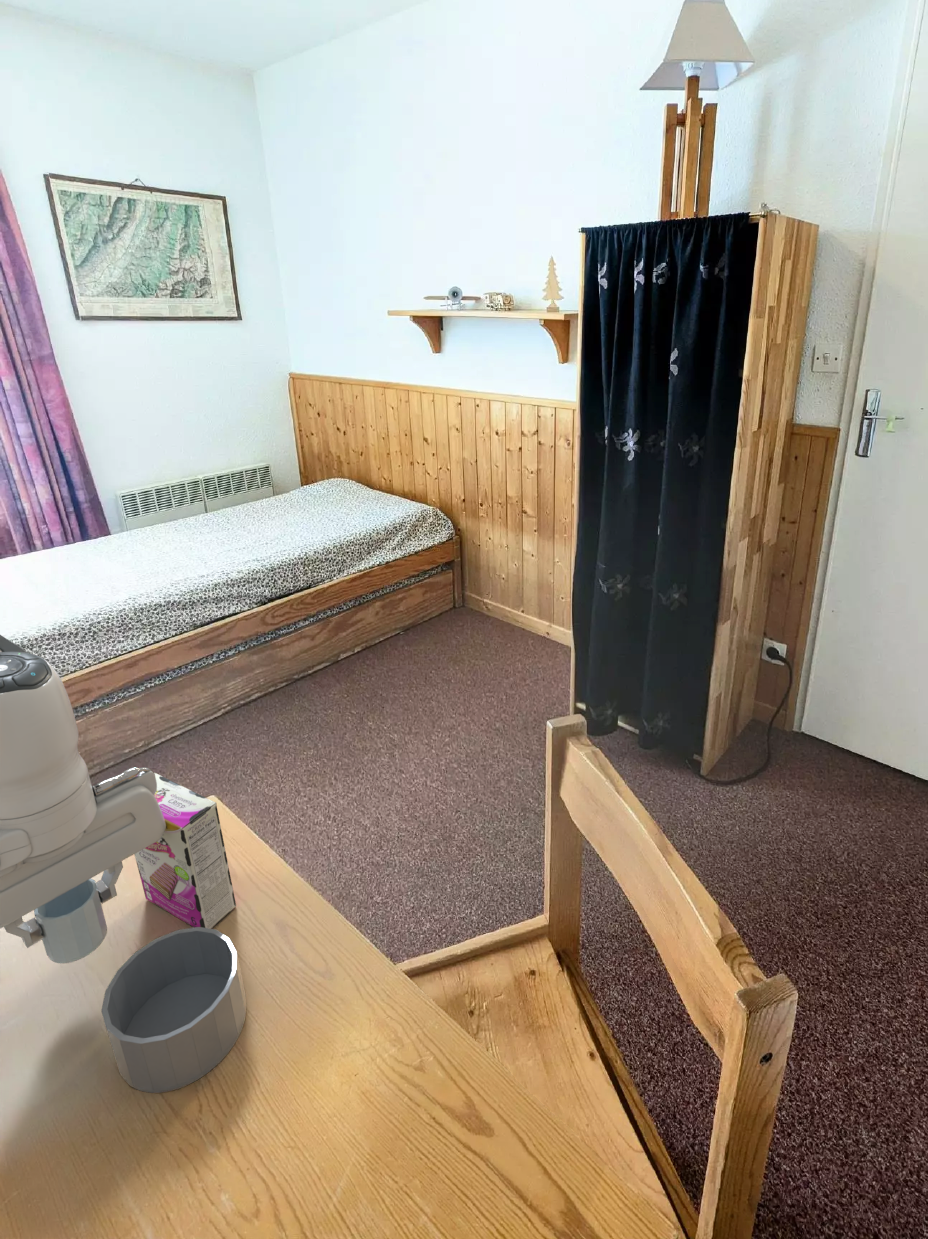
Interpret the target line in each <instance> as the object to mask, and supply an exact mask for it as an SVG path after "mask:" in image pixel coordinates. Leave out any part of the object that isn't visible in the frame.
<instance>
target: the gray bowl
mask: <svg viewBox="0 0 928 1239" xmlns="http://www.w3.org/2000/svg"><path fill="white" fill-rule="evenodd" d="M243 980H244V979H243V976H242V970H241V964H240V959H239V954H238V951H237V949H236V947H235V946H234V943H233V941H232V939H231V938H230V937H229V936H227V935H226V934H224V933H222V932H221V931H220V930H218V929H215V928H212V929H209V928H203V927H189V928H182V929H177V930H174V931H171V932H168V933H167V934H164V935H161V936H159V937H157V938H155V939H153V940H151V941H150V942H149V943H147V944H146V945H144V946H143V947H141V948H139V949H138V950H137V951H135V952H134V953H133V954H132V955H131V956H130V957H129V958H128V959H127V960H126V961H125V962H124V963H123V964H122V965H121V966H120V967H119V968H118V969H117V971H116V972H115V974H114V975H113V977H112V979H111V981H110V982H109V984H108V986H107V987H106V989H105V992H104V996H103V1001H102V1006H101V1010H100V1011H101V1015H102V1018H103V1023H104V1027H105V1029H106V1033H107V1037H108V1039H109V1043H110V1046H111V1049H112V1053H113V1056H114V1059H115V1064H116V1066H117V1070H118V1072H119V1075H120V1076H121V1078H122V1079H123V1080H124V1082H125V1083H126V1084H128V1086H130V1087H132V1088H133V1089H135V1090H137V1091H140V1092H144V1093H151V1094H159V1093H160V1094H162V1093H166V1092H173V1091H175V1090H179V1089H181V1088H184V1087H186V1086H189V1085H191V1084H193V1083H194V1082H196V1081H198V1080H199V1079H201V1078H203V1077H204V1076H206V1075H207V1074H208V1073H210V1072H211V1071H212V1070H213V1069H214V1068H216V1067H217V1066H218V1065H219V1064H220V1063H221V1062H222V1061H223V1060H224V1058H225V1057H226V1056H227V1055H228V1054H229V1053H230V1051H231V1050H232V1049H233V1047H234V1046H235V1045H236V1042H237V1041H238V1039H239V1038H240V1036H241V1032H242V1031H243V1027H244V1024H245V1020H246V1016H247V999H246V998H247V997H246V995H247V994H246V991H245V990H246V989H245V986H244V981H243Z"/></svg>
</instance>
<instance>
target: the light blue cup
mask: <svg viewBox="0 0 928 1239" xmlns="http://www.w3.org/2000/svg"><path fill="white" fill-rule="evenodd" d="M96 882H97V881H96V880H94V879H93V878H90V879H89V880H87V881H85V882H83V883H81V884H80V885H78V886H76V887H74V888H73V889H71V890H69V891H67V892H65V893H64V894H62V895H60V896H58V897H56V898H55V899H53V900H51V901H49V902H47V903H46V904H44V905H42V906H40V907H38V908H37V909H35V910H33V914H34V917H35V919H36V921H37V923H38V924H39V925H40V927H41V930H42V934H43V936H44V939H42V940H41V941H42V945H43V947H44V950H45V954H46V956H47V958H48V959H49V960H50V961H51V962H53V963H54V964H61V965H63V964H70V963H74V962H77V961H80V960H82V959H84V958H86V957H88V956H89V955H90V954H92V953H93V952H94V951H95V950H97V949H98V948H99V947H100V946H101V945H102V943H103V942H104V940H105V939H106V936H107V934H108V925H107V920H106V917H105V913H104V908H103V904H102V903H101V901H100V897H99V893H98V889H97V885H96Z"/></svg>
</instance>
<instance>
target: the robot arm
mask: <svg viewBox="0 0 928 1239" xmlns="http://www.w3.org/2000/svg"><path fill="white" fill-rule="evenodd" d="M74 712H75V711H74V709H73V707H72V703H71V700H70V697H69V694H68V691H67V689H66V687H65V684H64V682H63V680H62V678H61V677H60V675H59V673H58V672H57V671H56V669H55V668H54V667H53V665H51V663H50V662H49V661H48V660H46V659H45V658H43V657H41V656H39V655H37V654H34V653H30V652H28V651H27V650H25V649H24V648H22V647H21V646H19V645H18V644H16V643H15V642H13V641H11V640H9V639H8V638H6V637H5V636H3V635H1V634H0V930H2V929H3V928H4V930H5V932H6V933H7V934H10V935H14V936H16V937H19V938H21V940H22V943H23V944H24V945H25V948H26V949H29V948H30V947H32V946H34V945H36V944H37V943H38V942H40V941H42V939H44V936H43V934H42V930H41V927H40V925H39V924H38V923H37V921H36V918H35V916H34V917H32V918H31V919H29V920H27V921H24V919H23V917H24V916H27V915H28V914H30V913H32V912H34V910H35V909H37V908H38V907H40V906H42V905H44V904H46V903H47V902H49V901H51V900H53V899H55V898H56V897H58V896H60V895H62V894H64V893H65V892H67V891H69V890H71V889H73V888H74V887H76V886H78V885H80V884H81V883H83V882H85V881H87V880H89V879H90V878H91V879H93V878H94V877H96V876H98V875H100V874H101V873H102V876H101V879H99V880H98V881H95V882H96V885H97V889H98V893H99V897H100V901H101V905H103V904H104V903H106V902H108V901H110V900H112V899H114V898H115V897H117V896H118V893H117V889H116V884H117V882H118V879H119V877H120V875H121V873H122V871H123V868H124V865H123V861H125V860H127V859H128V858H130V857H132V856H135V855H134V854H135V853H137V852H139V851H141V850H142V849H144V848H146V847H148V846H150V845H151V844H153V843H155V842H157V841H159V840H160V839H161V838H162V836H163V834H164V832H165V830H166V823H165V820H164V816H163V814H162V811H161V809H160V806H159V804H158V802H157V800H156V798H155V797H154V794H155V792H156V790H157V783H156V778H155V774H154V773H155V772H154V770H152V769H150V768H149V767H139V768H138V767H137V766H134V767H131V768H128V769H126V770H124V771H122V772H121V773H119V774H117V775H116V776H112V777H110V778H107V779H105V780H103V781H100V782H98V783H95V784H92V782H91V777H90V772H89V769H88V766H87V764H86V760H84V758H83V757H82V756H81V754H80V752H79V749H78V748H79V747H78V743H79V738H80V735H79V729H78V728H79V727H78V723H77V720H76V717H75V713H74Z"/></svg>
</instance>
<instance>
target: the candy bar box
mask: <svg viewBox="0 0 928 1239" xmlns="http://www.w3.org/2000/svg"><path fill="white" fill-rule="evenodd" d="M154 774H155V778H156V783H157V790H156V792H155V794H154V797H155V798H156V800H157V802H158V804H159V806H160V809H161V811H162V814H163V816H164V820H165V823H166V830H165V832H164V834H163V836H162V838H161V839H160V840H159V841H157V842H155V843H153V844H151V845H150V846H148V847H146V848H144V849H142V850H141V851H139V852H137V853H135V854H134V855H133V856H134V859H135V862H136V865H137V869H138V873H139V878H140V880H141V881H140V882H141V885H142V888H143V895H144V897H145V900H146V901H148V902H150V903H152V904H154V905H155V906H158V908H160V909H162V910H164V911H165V912H167V913H169V914H171V915H172V916H174V917H176V918H177V919H179V920H180V921H182V922H183V923H185V924H187V925H189V926H190V927H191V928H194V927H203V928H209V929H214V928H215V927H216V926H217V925H218V924H219V923H220V922H221V921H222V920H223V919H224V918H225V917H226V916H227V915H229V914H230V913H231V912H232V911H233V910H234V909H235V908H236V907H237V902H236V898H235V892H234V887H233V883H232V882H233V881H232V877H231V873H230V867H229V866H230V865H229V862H228V857H227V852H226V845H225V841H224V836H223V832H222V825H221V821H220V816H219V815H220V814H219V810H218V805H217V802H216V801H214V800H211V799H209V798H208V797H205V796H203V795H201V794H200V793H198V792H195V791H193V790H191V789H189V788H187V787H185V786H183V785H181V784H179V783H177V782H175V781H173V780H171V779H168V778H166V777H164V776H162V775H161V774H158V773H156V772H154Z"/></svg>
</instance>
